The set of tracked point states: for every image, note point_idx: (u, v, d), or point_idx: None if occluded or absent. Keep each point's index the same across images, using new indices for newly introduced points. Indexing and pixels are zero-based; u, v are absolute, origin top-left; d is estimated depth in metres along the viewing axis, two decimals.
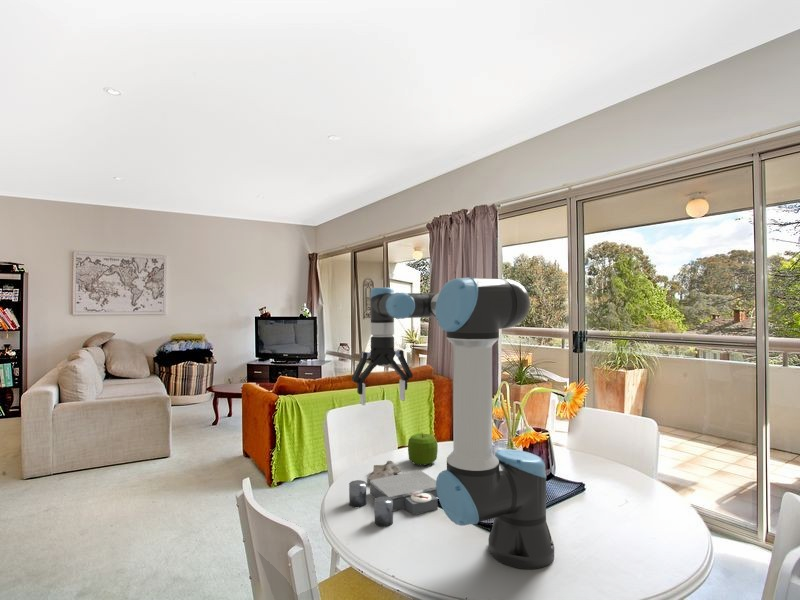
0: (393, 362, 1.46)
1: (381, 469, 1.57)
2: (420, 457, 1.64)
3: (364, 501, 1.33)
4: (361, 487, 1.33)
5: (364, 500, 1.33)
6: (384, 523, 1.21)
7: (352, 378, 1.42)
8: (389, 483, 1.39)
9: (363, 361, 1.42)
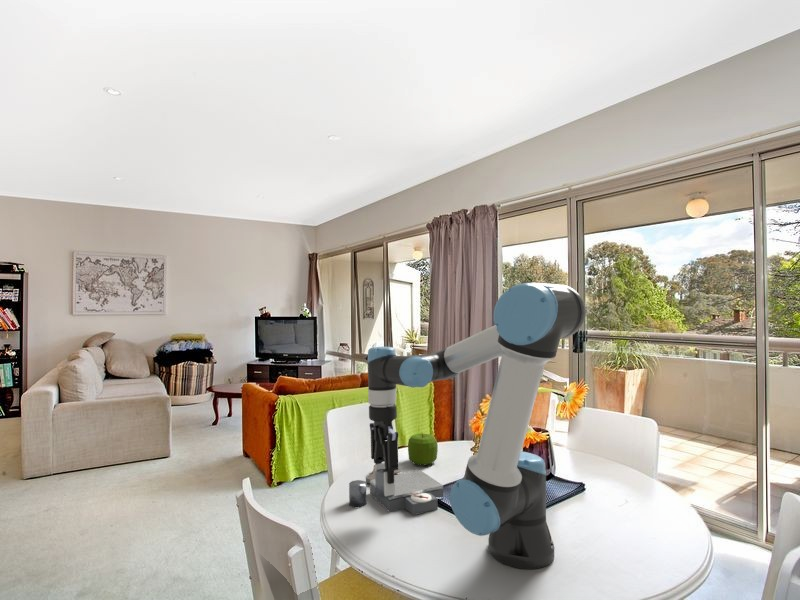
0: (380, 440, 1.21)
1: None
2: (420, 457, 1.64)
3: (364, 501, 1.33)
4: (361, 487, 1.33)
5: (364, 500, 1.33)
6: None
7: None
8: None
9: (371, 434, 1.28)
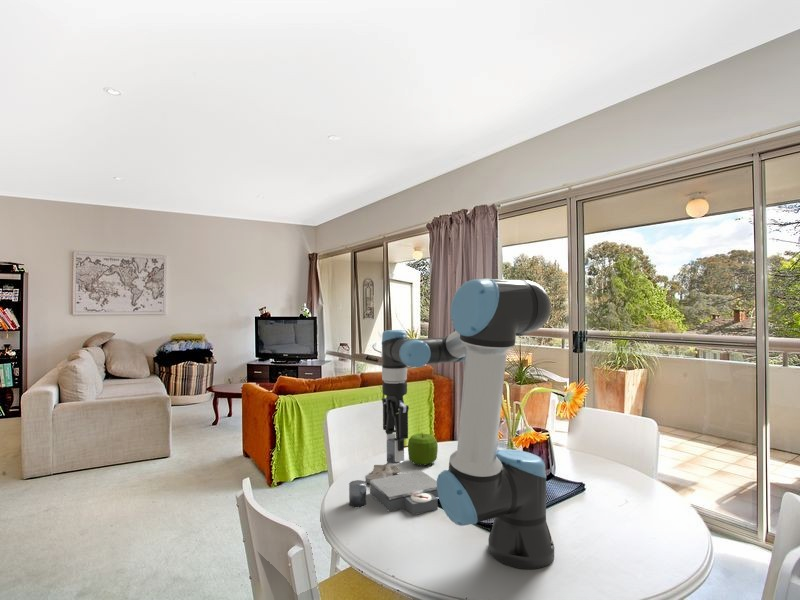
0: (392, 413, 1.36)
1: (381, 469, 1.57)
2: (420, 457, 1.64)
3: (364, 501, 1.33)
4: (361, 487, 1.33)
5: (364, 500, 1.33)
6: None
7: None
8: (389, 483, 1.39)
9: (383, 407, 1.43)
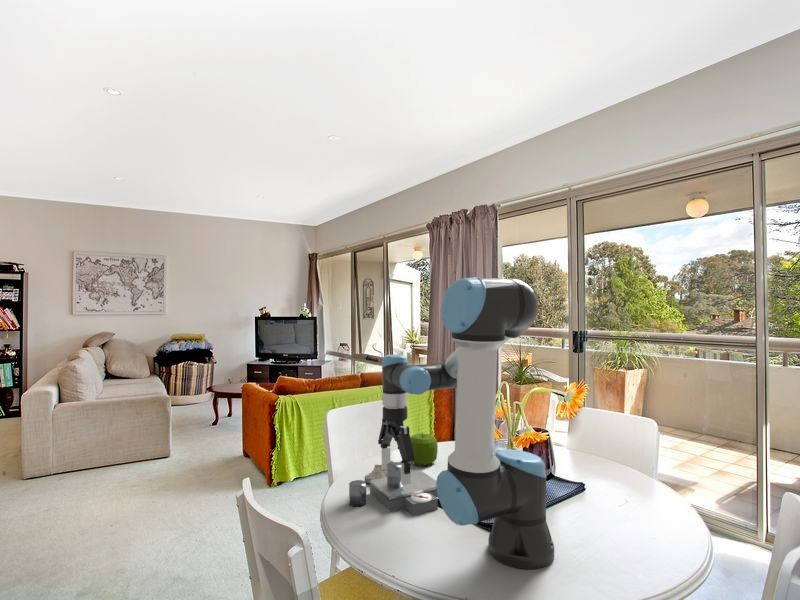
0: (394, 437, 1.35)
1: (381, 469, 1.57)
2: (420, 457, 1.64)
3: (364, 501, 1.33)
4: (361, 487, 1.33)
5: (364, 500, 1.33)
6: (396, 484, 1.36)
7: None
8: None
9: (382, 426, 1.44)
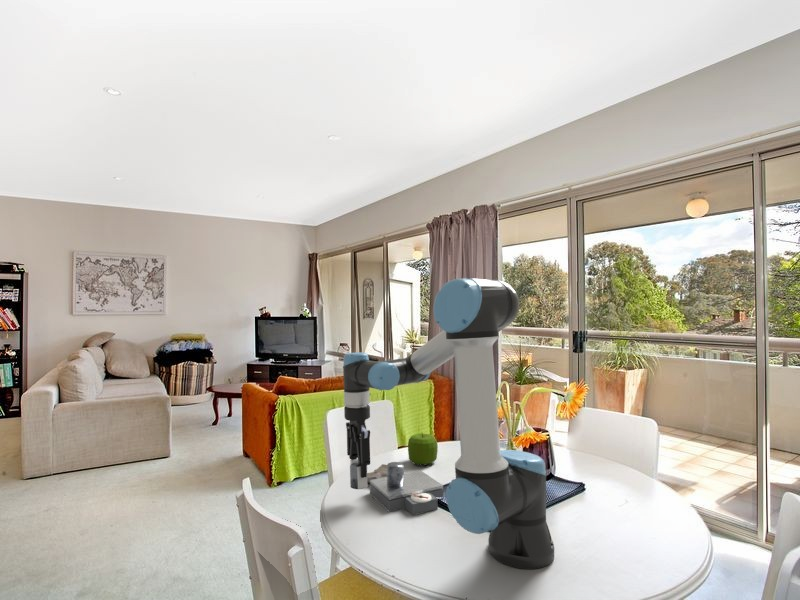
0: (354, 438, 1.32)
1: (385, 469, 1.57)
2: (420, 457, 1.64)
3: None
4: None
5: None
6: (397, 484, 1.36)
7: None
8: None
9: (347, 432, 1.39)
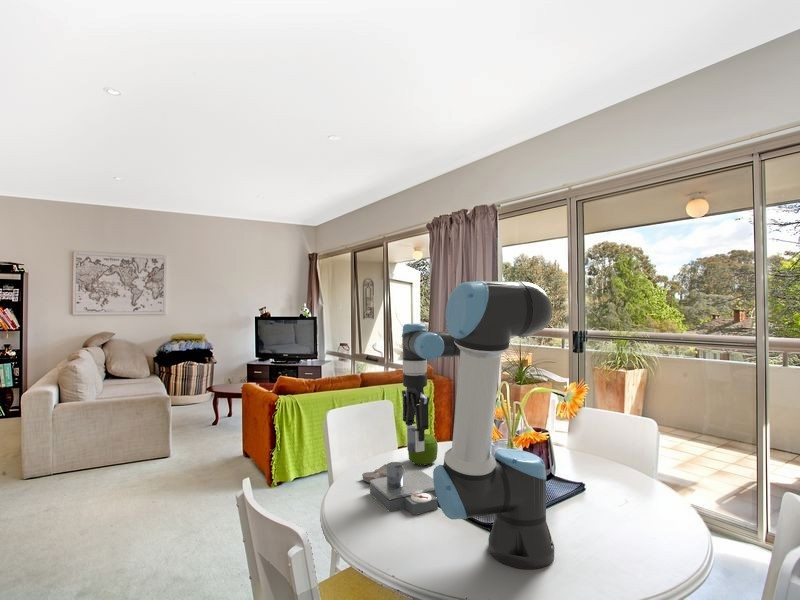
0: (413, 404, 1.39)
1: (386, 469, 1.57)
2: (420, 457, 1.64)
3: None
4: None
5: None
6: (397, 484, 1.36)
7: None
8: None
9: (403, 399, 1.46)
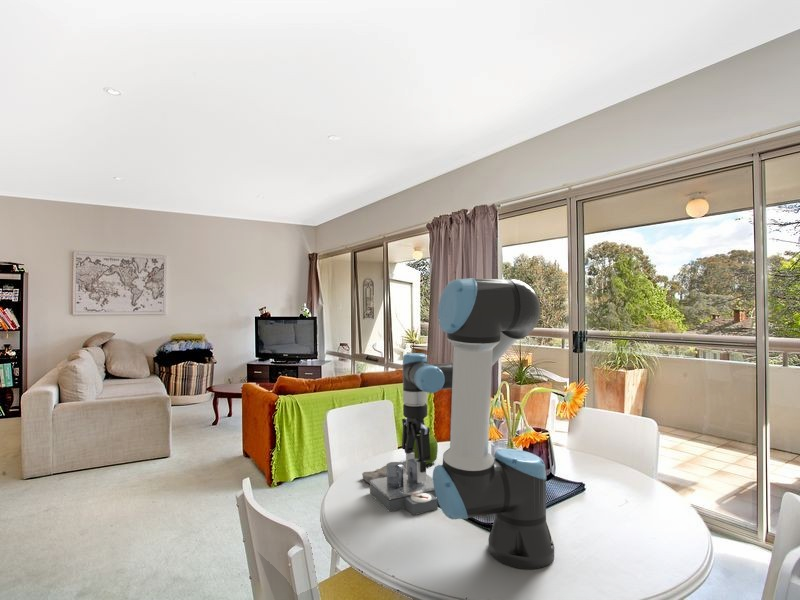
0: (414, 435, 1.39)
1: None
2: None
3: None
4: None
5: None
6: (398, 483, 1.36)
7: None
8: None
9: (403, 428, 1.46)
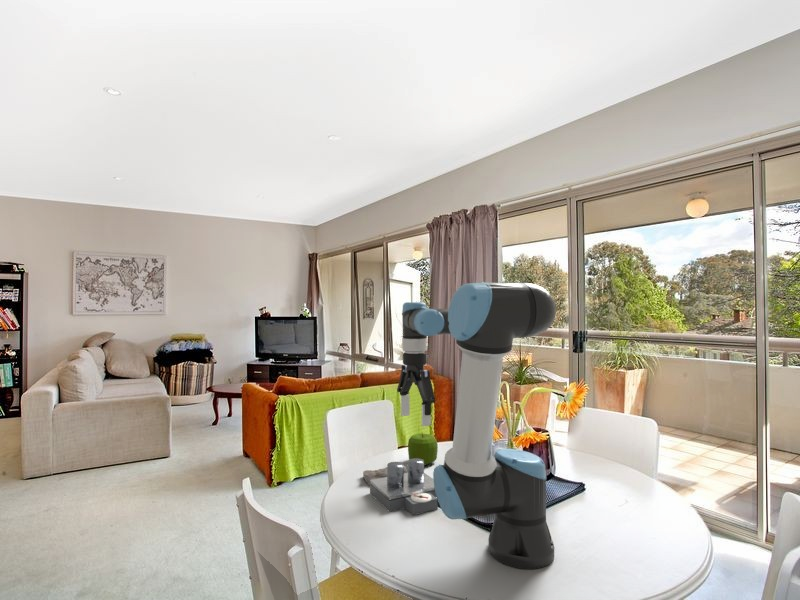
0: (414, 381, 1.38)
1: None
2: (420, 457, 1.64)
3: (423, 477, 1.40)
4: (420, 464, 1.39)
5: (422, 476, 1.40)
6: (400, 484, 1.36)
7: None
8: None
9: (401, 373, 1.47)
